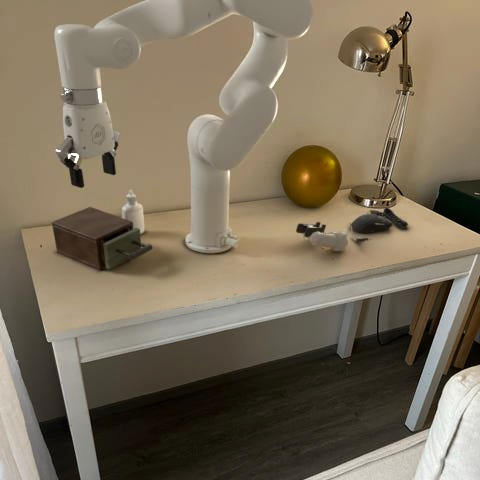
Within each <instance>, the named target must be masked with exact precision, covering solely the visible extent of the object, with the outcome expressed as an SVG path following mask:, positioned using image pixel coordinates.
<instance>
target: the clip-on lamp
mask: <svg viewBox="0 0 480 480" xmlns="http://www.w3.org/2000/svg"><path fill="white" fill-rule="evenodd" d="M351 223H352V222H350V221H349V222H348V223H347V227H346V233H345V232H343V231H340V230H339V231H334V232H333V231H331V232H325V230H326V228H327V225H326V224H325V223H324V224H321V222H320V221H316V222H315V224H312V223H300V222H299V223H298V224H297V226H296V229H295V232H296V233H297V234H302V236H303V241H304V243H305V242H308V241H310V244H311V245H312V246H314V247H315V246H316V247H324V248H330V249H331V251H333V252H342V251H345V249H346V248H347V246H348V244H349V239H348V236H349V235H348V233H349V228H350V231H351V237H352V239H353V240H354V241H356V242H359V243H362V242H368V241H371V238H369V237H359V238H355V236H354V230H353V229H352V225H351ZM350 226H351V227H350ZM306 238H307V239H306Z"/></svg>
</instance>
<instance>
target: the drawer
mask: <svg viewBox="0 0 480 480" xmlns="http://www.w3.org/2000/svg"><path fill="white" fill-rule="evenodd" d="M99 247H100V255H101V263H103V264H106V267H105V269H107V270H112V269H114V268H115V267H117V266H119V265H121V264H123V263H125V262H127V261H128V260H131V261H133V260H135V259H137V258H139V257H141V256H143V255H144V254H146V253H149V252H150V251H152V250H153V245H152V244H150V243H148V244H145V243H142V239H141V234H140V229H139V228H135V229H132V230H130V228H129V227H127V228H125V229H123V230H121V231H119V232H116V233H114V234H112V235H110V236H108V237H106V238H104V239H102V240H100V241H99Z"/></svg>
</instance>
